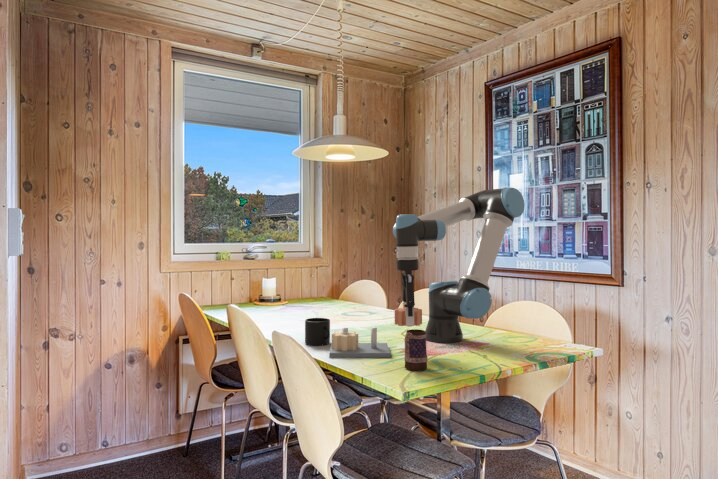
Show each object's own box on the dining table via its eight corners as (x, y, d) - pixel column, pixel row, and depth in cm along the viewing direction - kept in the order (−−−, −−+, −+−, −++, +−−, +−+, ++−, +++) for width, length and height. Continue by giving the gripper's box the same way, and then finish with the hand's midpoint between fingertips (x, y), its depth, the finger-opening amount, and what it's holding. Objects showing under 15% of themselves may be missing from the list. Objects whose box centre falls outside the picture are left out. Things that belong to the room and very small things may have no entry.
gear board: (386, 347, 186) (387, 324, 185) (390, 357, 170) (390, 332, 169) (331, 347, 185) (331, 324, 185) (329, 357, 169) (329, 332, 169)
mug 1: (319, 348, 183) (319, 323, 183) (300, 343, 192) (300, 319, 192) (339, 344, 189) (339, 320, 189) (319, 339, 198) (319, 317, 198)
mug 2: (411, 364, 161) (411, 327, 160) (431, 367, 157) (431, 329, 156) (395, 371, 152) (395, 331, 152) (416, 375, 148) (416, 334, 148)
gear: (419, 321, 179) (419, 307, 179) (423, 326, 170) (423, 311, 170) (393, 321, 179) (393, 307, 179) (396, 326, 170) (395, 311, 169)
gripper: (393, 257, 185) (394, 317, 185) (399, 260, 163) (400, 329, 163) (414, 256, 185) (415, 317, 185) (422, 260, 163) (423, 329, 163)
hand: (408, 322), depth 174 cm, fingers closed on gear, 9 cm apart
